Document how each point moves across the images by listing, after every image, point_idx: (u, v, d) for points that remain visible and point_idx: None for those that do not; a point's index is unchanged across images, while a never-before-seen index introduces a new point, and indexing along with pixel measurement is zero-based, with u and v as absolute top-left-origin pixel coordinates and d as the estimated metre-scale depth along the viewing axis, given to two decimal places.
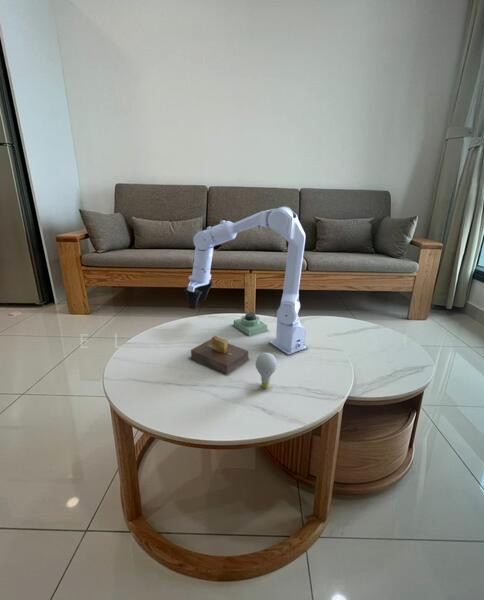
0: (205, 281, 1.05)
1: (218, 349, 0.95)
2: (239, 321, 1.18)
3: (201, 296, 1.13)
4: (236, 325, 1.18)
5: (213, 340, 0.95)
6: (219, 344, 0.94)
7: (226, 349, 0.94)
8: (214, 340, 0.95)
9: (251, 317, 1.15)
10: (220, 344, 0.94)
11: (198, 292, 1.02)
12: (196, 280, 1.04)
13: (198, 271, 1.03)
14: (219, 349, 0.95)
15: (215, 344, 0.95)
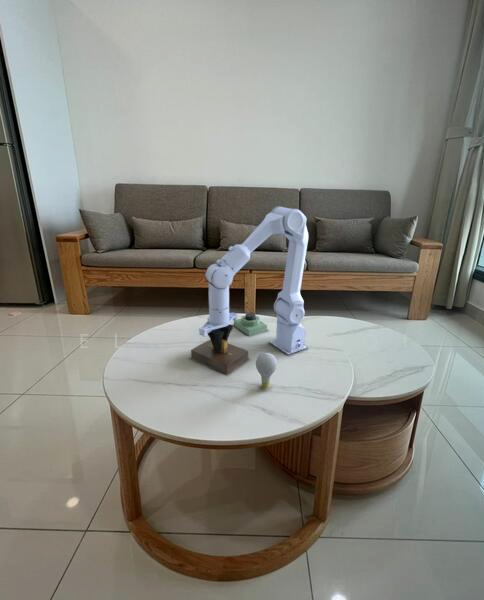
0: (222, 323, 0.90)
1: None
2: (239, 321, 1.18)
3: None
4: (236, 325, 1.18)
5: None
6: None
7: (226, 349, 0.94)
8: None
9: (251, 317, 1.15)
10: None
11: (218, 333, 0.90)
12: (212, 322, 0.90)
13: (212, 312, 0.89)
14: None
15: None
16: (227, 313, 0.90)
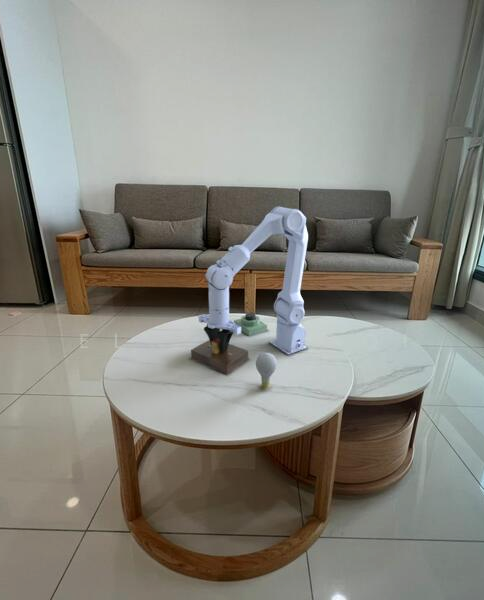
0: None
1: None
2: (239, 321, 1.18)
3: None
4: None
5: (217, 344, 0.93)
6: None
7: None
8: (218, 343, 0.94)
9: (251, 317, 1.15)
10: None
11: None
12: (226, 322, 0.91)
13: (226, 312, 0.90)
14: None
15: (219, 346, 0.94)
16: None
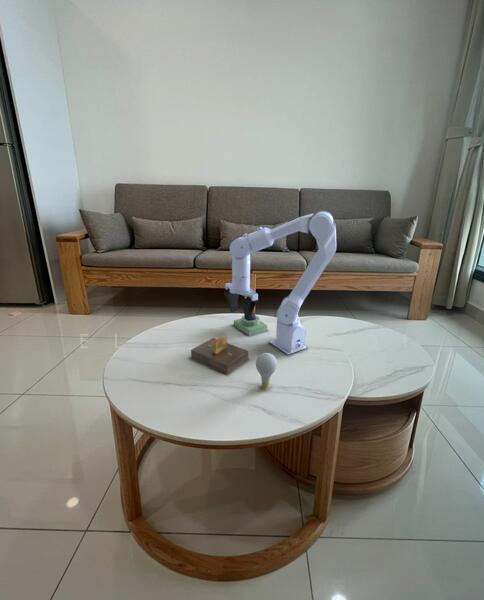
0: (249, 287, 1.04)
1: (222, 348, 0.96)
2: (239, 321, 1.18)
3: (233, 307, 1.09)
4: (236, 325, 1.18)
5: (217, 344, 0.93)
6: (223, 342, 0.95)
7: None
8: (218, 343, 0.94)
9: (251, 317, 1.15)
10: (223, 341, 0.95)
11: None
12: (246, 289, 1.02)
13: (246, 279, 1.01)
14: (223, 347, 0.96)
15: (219, 346, 0.94)
16: None
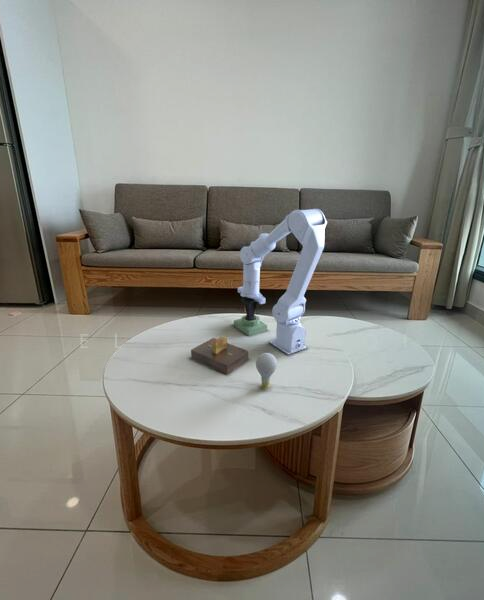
0: None
1: (222, 348, 0.96)
2: (239, 321, 1.18)
3: None
4: (236, 325, 1.18)
5: (217, 344, 0.93)
6: (223, 342, 0.95)
7: None
8: (218, 343, 0.94)
9: (251, 318, 1.15)
10: (223, 341, 0.95)
11: None
12: (255, 293, 1.11)
13: (256, 284, 1.10)
14: (223, 347, 0.96)
15: (219, 346, 0.94)
16: None
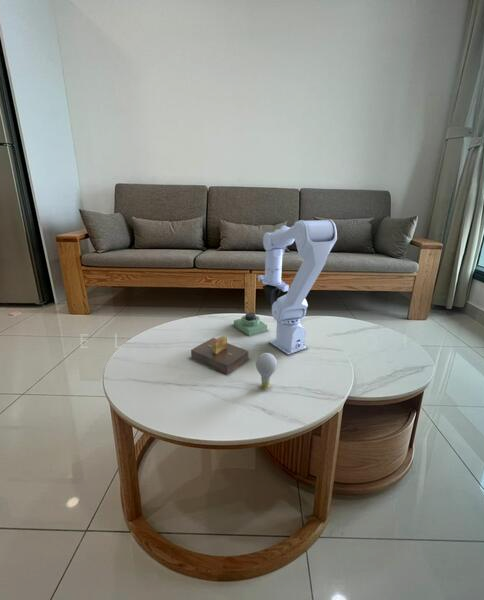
0: (280, 279, 1.12)
1: (222, 348, 0.96)
2: (239, 321, 1.18)
3: None
4: (236, 325, 1.18)
5: (217, 344, 0.93)
6: (223, 342, 0.95)
7: None
8: (218, 343, 0.94)
9: (251, 317, 1.15)
10: (223, 341, 0.95)
11: None
12: (277, 281, 1.09)
13: (278, 272, 1.08)
14: (223, 347, 0.96)
15: (219, 346, 0.94)
16: None
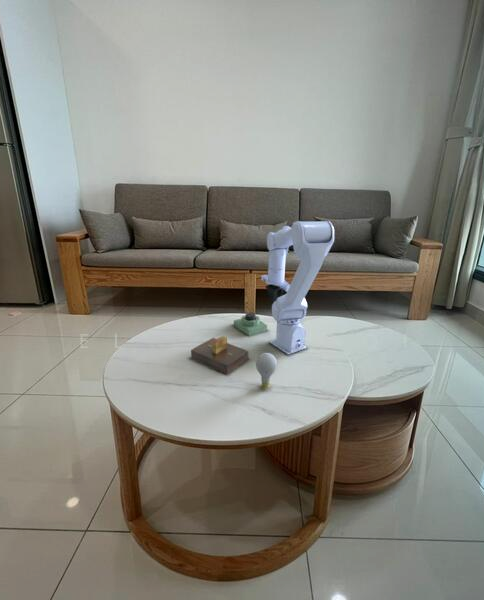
0: None
1: (222, 348, 0.96)
2: (239, 321, 1.18)
3: (274, 300, 1.14)
4: (236, 325, 1.18)
5: (217, 344, 0.93)
6: (223, 342, 0.95)
7: None
8: (218, 343, 0.94)
9: (251, 317, 1.15)
10: (223, 341, 0.95)
11: None
12: (280, 281, 1.09)
13: (281, 272, 1.08)
14: (223, 347, 0.96)
15: (219, 346, 0.94)
16: None
